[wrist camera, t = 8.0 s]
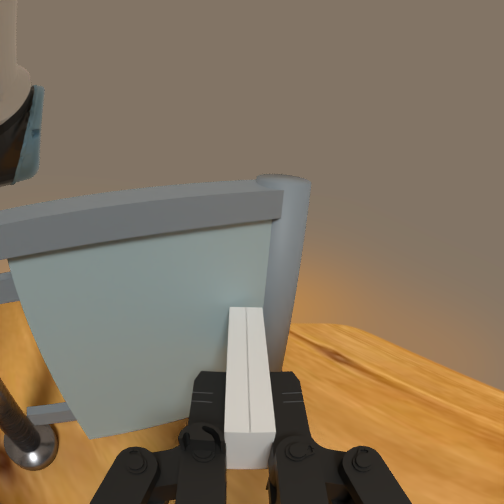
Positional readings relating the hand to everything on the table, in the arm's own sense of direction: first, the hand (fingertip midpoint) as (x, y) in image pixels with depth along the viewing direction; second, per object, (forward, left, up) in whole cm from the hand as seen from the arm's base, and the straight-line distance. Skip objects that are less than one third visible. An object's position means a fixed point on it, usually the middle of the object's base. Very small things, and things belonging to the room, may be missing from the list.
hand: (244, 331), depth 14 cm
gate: (-2, -4, -7) cm, 8 cm away
